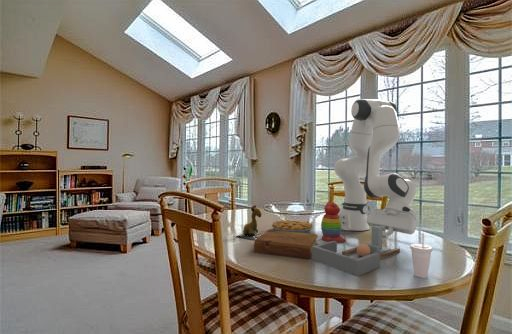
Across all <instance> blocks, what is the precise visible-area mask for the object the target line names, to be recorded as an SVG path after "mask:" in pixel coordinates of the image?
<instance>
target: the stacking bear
mask: <svg viewBox="0 0 512 334" xmlns="http://www.w3.org/2000/svg"><path fill="white" fill-rule="evenodd" d="M340 210H341V208H340V207H339V206H338V204H337V203H336V202H335V203H334V202H330V201H327V202H326V204H325V206H324V212H325V214H324V215H323V216H322V219H321V225H320V228H321V233H322V235H321V240H322V241H324V242H326V243H327V242H330V241H337V243H345V242H346V238H345V237H343V236H341V231H342V229H341V221H340V218H339V215H338V213H339V211H340Z"/></svg>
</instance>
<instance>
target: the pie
mask: <svg viewBox="0 0 512 334" xmlns="http://www.w3.org/2000/svg"><path fill="white" fill-rule="evenodd" d="M289 220H290V219H287V220H284V219H283V220H282V219H280V220H279V221H273V223H272V225H271V227H272V229H273V231H285V232H296V233H308V234H311V233H310V232H311V230H312V229H313V228H314V225H313V223H310V222H309V221H304V222H300V221H301V220H298V221H289Z"/></svg>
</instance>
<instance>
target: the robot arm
mask: <svg viewBox="0 0 512 334" xmlns="http://www.w3.org/2000/svg"><path fill="white" fill-rule="evenodd" d="M397 113H398V108H397V104H396V103H395V102H393V101H390V100H383V99H379V98H378V99H377V98H374V99H371V98H370V99H368V98H367V99H365V98H360V99H356V100H355V101H354V102H353V104H352V106H351V116H352V117H353V121H352V124H351V125H352V126H351V130H350V135H349V141H348V143H349V144H348V147H349V149H350V150H352V151H353V153H354V156H353V157H345V158H341V159H340V158H339V159H338V160H337V161H336V162H335V164H334V173H335V175H336V176H338V177H339V178H340V180H341V181H342V184H343V186H344V197H345V198H344V200H345V201H344V202H342V203H340V204H341V206H342V208H340V211H339V213H338V215H339V218H340V221H341V230H344V231H363V232H364V231H368V230H370V227H371V228H372V226H375V225H376V226H381V227H382V239H384V238H385V239H389V237H390V236H391V235H392V234H394V233H395V232H396V233H402V234H406V235H407V234H408V235H413V234H414V233H415V232H416V229H417V225H418V224H417V222H418V215H417V213H416V212H415V211H414V209H413V208H412V207H410V206H411V205H412V203H413V201H414V199H415V197H416V192H417V186H416V184H415V183H414V182H413V181H412V180H410V179H406V178H405V179H404V178H403V177H402V176H401V175H400V174H398V173H395V172H394V173H392V172H391V173H387V174H382V175H380V167H381V159H382V157H383V156H384V155H385V154H386V153H387V152H388V151H389V150H391V149H392V148H393V147H395V146H396V144H398V141H399V139H400V126H399V125H400V124H399V119H398V115H397ZM360 178H365V179H364V182H363V184H361V180H360ZM367 196H368V197H370V198H372V199H377V198H383V197H388V201H387V203H386V205H385V207H384V209H383V208H375V209H373V210H372V211H371V212H370V214H369V215H368V214H367V212H368V203H367ZM367 215H368V216H367ZM386 230H387V231H386Z"/></svg>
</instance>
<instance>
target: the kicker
mask: <svg viewBox="0 0 512 334" xmlns="http://www.w3.org/2000/svg"><path fill="white" fill-rule="evenodd" d="M371 242H372V244H368V243H369V242H368V243H367V242H365V243H364V244H366V245H368V246H369V248H370V254H372V253H375V252H377V253H380V254H381V253H383V252H386V251H389V250H392V248H389V247H385V246H383V237H382V227H381V226H376V225H375V226H372V227H371Z"/></svg>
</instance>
